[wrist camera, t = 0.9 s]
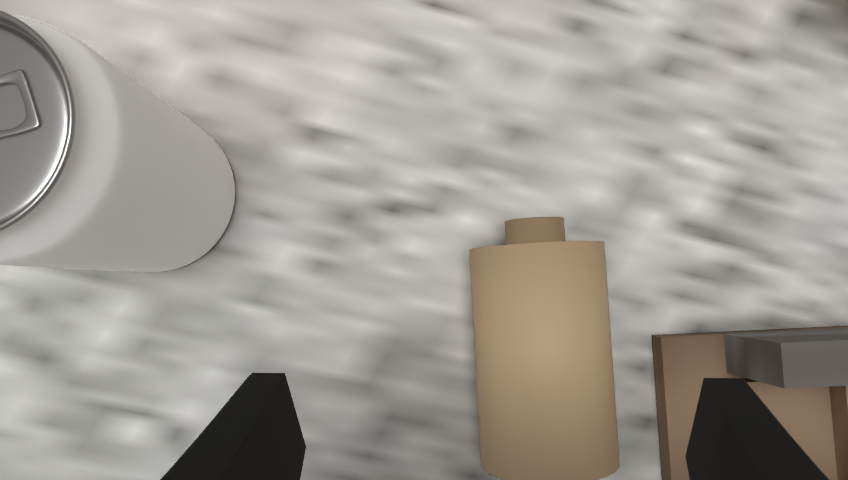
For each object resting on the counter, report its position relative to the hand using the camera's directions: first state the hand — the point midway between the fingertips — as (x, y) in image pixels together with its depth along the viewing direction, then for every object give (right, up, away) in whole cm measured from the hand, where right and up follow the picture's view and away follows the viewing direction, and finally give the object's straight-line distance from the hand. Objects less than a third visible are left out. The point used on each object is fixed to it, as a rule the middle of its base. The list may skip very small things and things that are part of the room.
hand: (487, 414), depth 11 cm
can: (-12, +5, +15) cm, 20 cm away
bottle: (+3, -1, +15) cm, 15 cm away
